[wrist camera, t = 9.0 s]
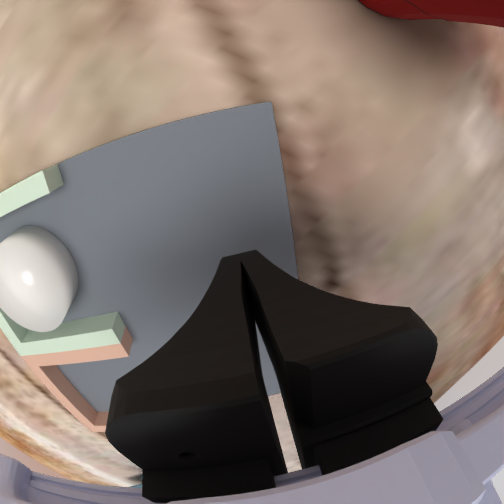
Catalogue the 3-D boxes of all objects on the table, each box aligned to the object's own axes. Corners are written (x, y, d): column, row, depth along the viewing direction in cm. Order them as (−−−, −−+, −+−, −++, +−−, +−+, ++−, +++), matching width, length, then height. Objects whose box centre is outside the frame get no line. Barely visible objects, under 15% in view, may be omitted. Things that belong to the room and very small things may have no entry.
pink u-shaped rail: (181, 412, 18) (181, 427, 17) (94, 418, 18) (91, 431, 17) (125, 325, 14) (120, 343, 13) (28, 341, 14) (20, 355, 12)
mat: (306, 378, 19) (308, 385, 19) (81, 412, 18) (80, 418, 18) (268, 102, 11) (271, 101, 10) (-42, 221, 10) (-47, 224, 9)
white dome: (90, 307, 13) (79, 333, 12) (23, 308, 13) (10, 330, 11) (63, 219, 11) (44, 238, 9) (-6, 231, 10) (-26, 248, 9)
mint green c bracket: (125, 325, 14) (120, 343, 13) (28, 341, 14) (20, 355, 12) (57, 163, 10) (42, 170, 9) (-37, 217, 9) (-51, 226, 8)
